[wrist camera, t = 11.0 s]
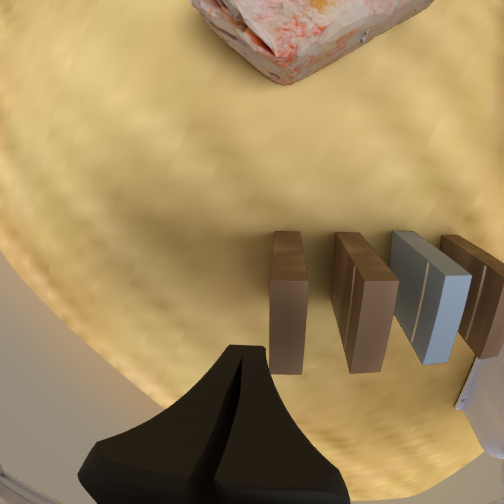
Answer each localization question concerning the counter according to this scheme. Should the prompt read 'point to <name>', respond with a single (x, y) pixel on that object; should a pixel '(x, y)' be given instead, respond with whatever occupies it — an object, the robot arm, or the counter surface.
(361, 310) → the domino
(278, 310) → the domino
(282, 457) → the robot arm
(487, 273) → the domino
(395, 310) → the placed domino
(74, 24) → the counter surface
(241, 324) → the counter surface
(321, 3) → the food item
